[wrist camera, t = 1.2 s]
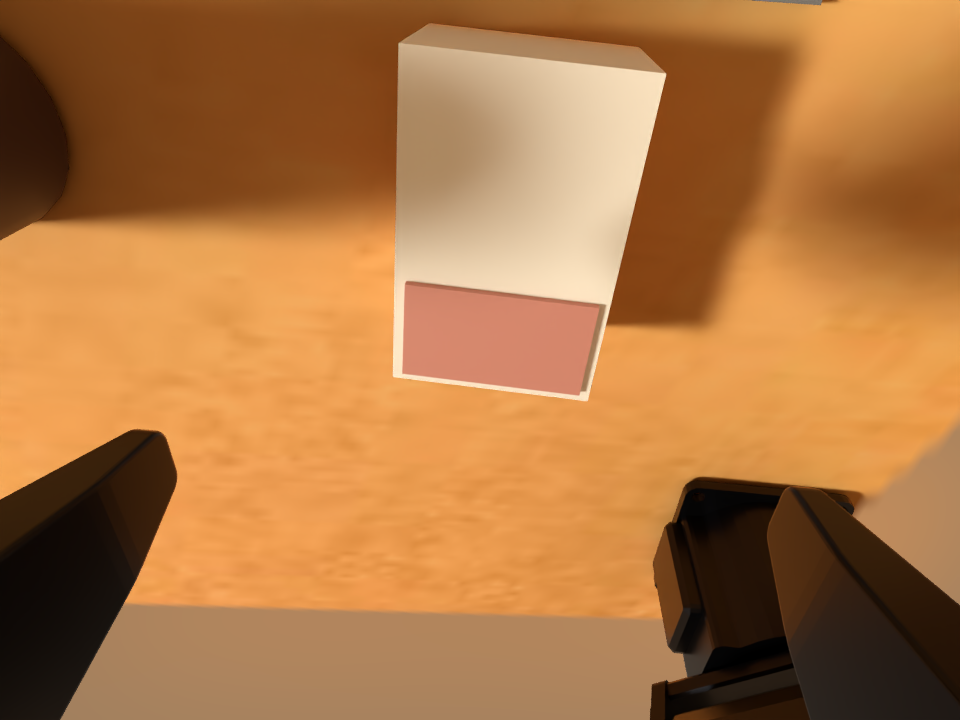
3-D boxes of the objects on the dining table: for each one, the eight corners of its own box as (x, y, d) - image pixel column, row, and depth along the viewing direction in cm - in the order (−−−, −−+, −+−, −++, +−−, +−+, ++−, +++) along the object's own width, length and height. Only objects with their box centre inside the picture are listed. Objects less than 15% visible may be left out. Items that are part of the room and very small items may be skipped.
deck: (637, 45, 16) (668, 74, 13) (579, 322, 21) (588, 405, 17) (430, 22, 17) (396, 44, 13) (418, 302, 21) (391, 380, 17)
